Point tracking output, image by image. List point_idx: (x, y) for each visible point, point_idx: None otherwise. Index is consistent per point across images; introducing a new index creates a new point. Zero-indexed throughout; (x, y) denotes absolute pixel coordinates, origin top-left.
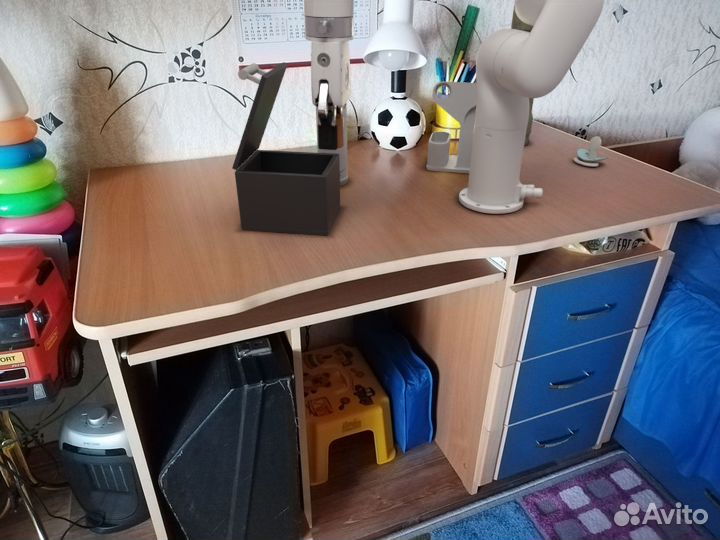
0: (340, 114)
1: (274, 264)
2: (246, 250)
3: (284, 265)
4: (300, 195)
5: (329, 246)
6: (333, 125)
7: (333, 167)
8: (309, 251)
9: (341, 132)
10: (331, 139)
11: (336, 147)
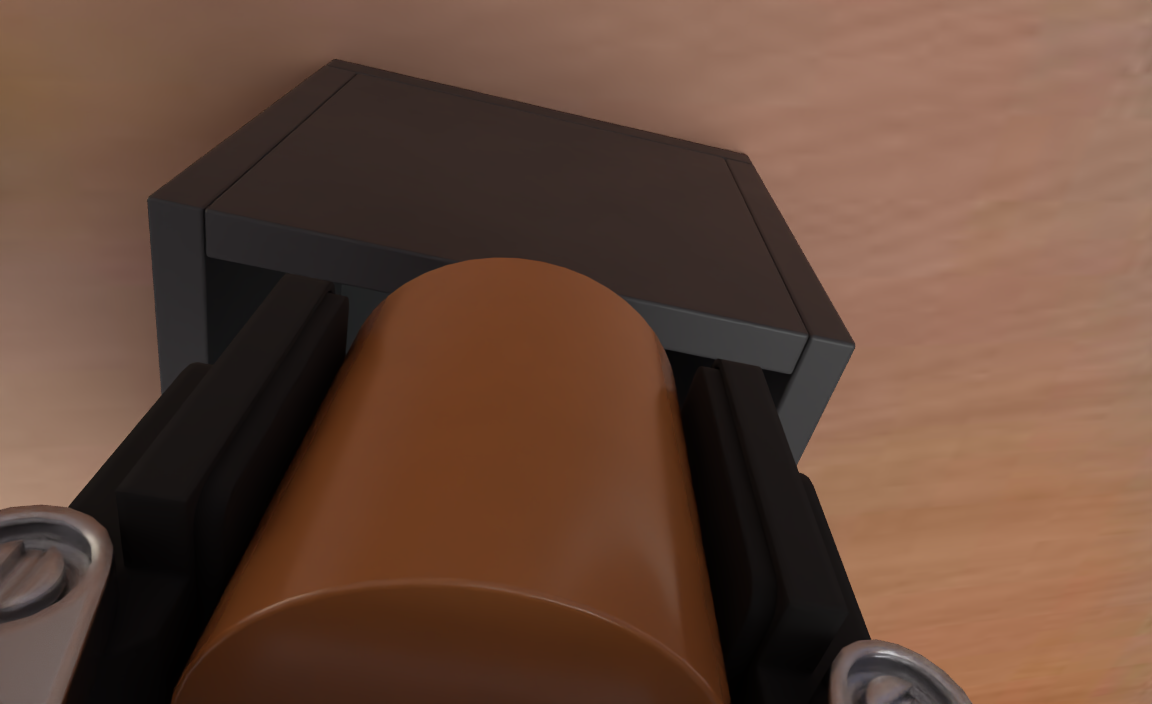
0: (276, 634)
1: (983, 394)
2: (817, 496)
3: (1009, 356)
4: None
5: (881, 147)
6: (958, 700)
7: (501, 253)
8: (907, 251)
9: (616, 415)
10: (825, 520)
11: (756, 380)
